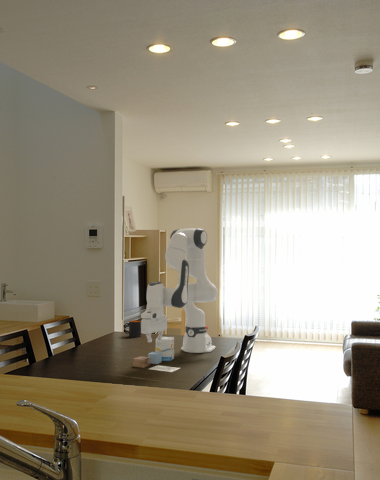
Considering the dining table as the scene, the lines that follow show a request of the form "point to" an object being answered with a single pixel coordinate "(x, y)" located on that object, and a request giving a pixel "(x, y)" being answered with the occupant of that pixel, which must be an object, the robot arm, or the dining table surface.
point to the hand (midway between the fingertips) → (154, 340)
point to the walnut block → (141, 362)
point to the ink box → (165, 348)
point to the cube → (155, 357)
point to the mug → (134, 328)
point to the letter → (164, 368)
